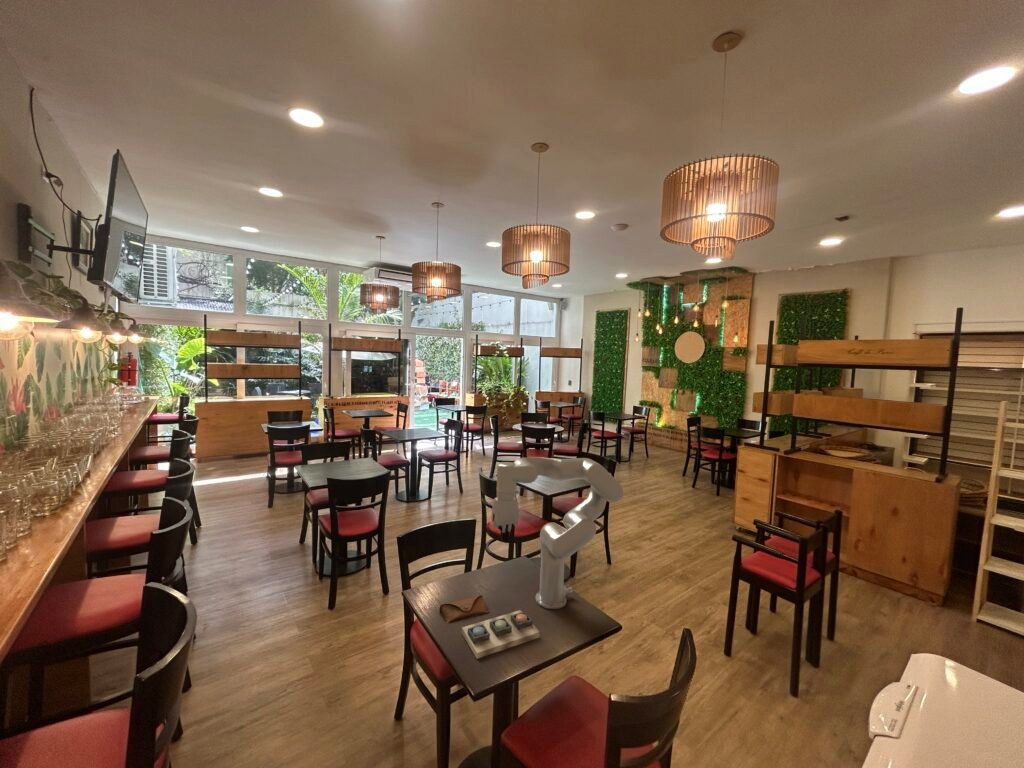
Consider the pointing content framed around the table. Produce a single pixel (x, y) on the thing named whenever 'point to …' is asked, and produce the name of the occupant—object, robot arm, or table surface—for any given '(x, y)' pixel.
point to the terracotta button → (521, 618)
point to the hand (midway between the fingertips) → (504, 540)
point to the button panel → (500, 634)
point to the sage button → (500, 624)
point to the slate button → (478, 631)
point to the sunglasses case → (463, 609)
